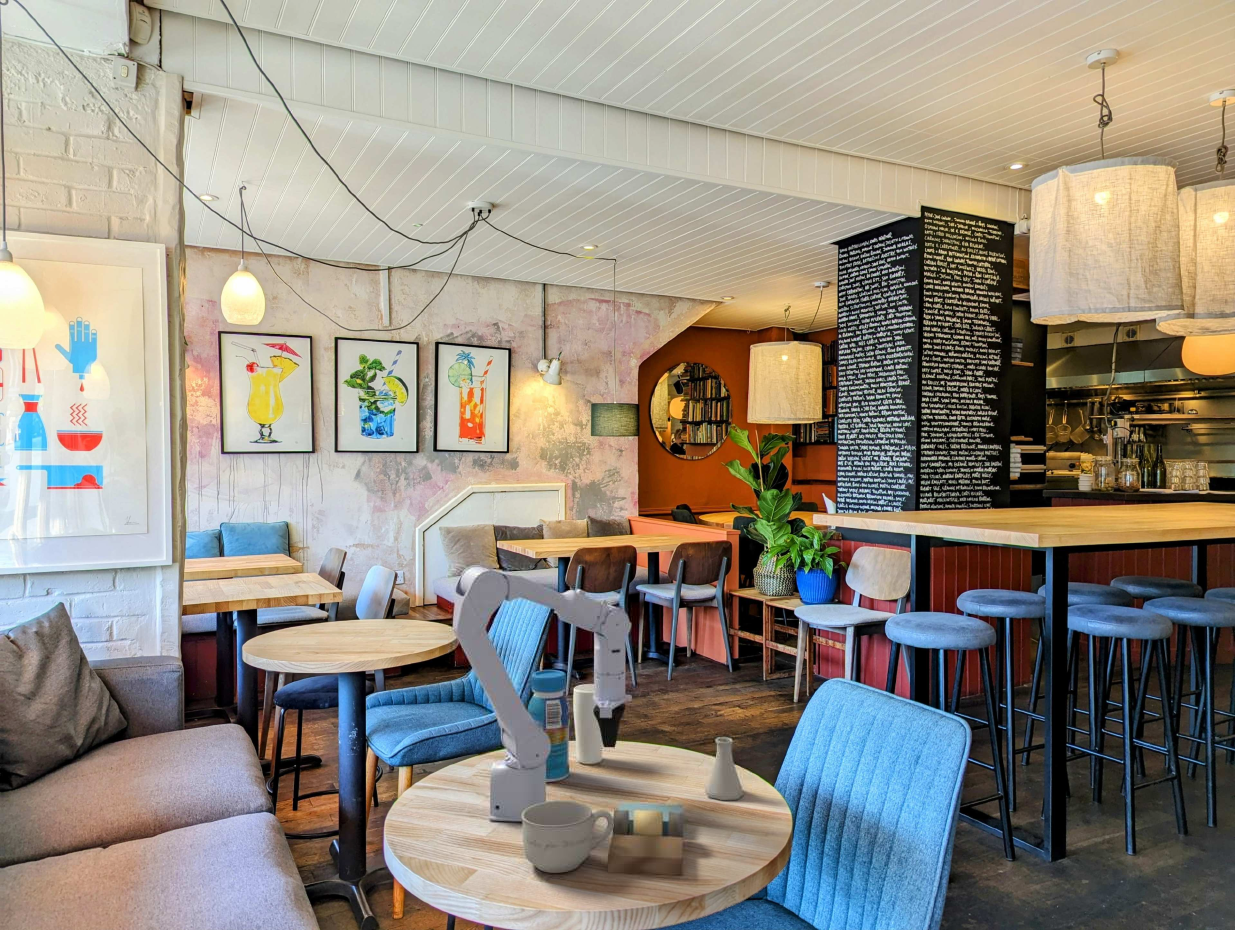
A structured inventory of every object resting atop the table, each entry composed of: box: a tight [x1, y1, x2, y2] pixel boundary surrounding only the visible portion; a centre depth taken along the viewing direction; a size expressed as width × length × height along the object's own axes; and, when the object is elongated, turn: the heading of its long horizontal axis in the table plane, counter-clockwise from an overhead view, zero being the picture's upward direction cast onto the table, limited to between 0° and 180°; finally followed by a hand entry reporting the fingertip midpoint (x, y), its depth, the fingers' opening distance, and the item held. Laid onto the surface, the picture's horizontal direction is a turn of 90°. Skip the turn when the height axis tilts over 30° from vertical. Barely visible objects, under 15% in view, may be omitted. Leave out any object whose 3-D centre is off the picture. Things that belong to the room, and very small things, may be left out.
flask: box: [704, 736, 745, 801], centre depth 151 cm, size 7×7×10 cm
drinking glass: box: [572, 683, 604, 765], centre depth 168 cm, size 7×7×15 cm
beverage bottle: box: [527, 669, 571, 783], centre depth 160 cm, size 8×8×20 cm
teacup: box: [522, 800, 614, 874], centre depth 123 cm, size 14×11×8 cm
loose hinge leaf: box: [617, 802, 684, 837], centre depth 134 cm, size 11×12×5 cm
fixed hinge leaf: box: [607, 809, 684, 876], centre depth 126 cm, size 11×12×5 cm
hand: (609, 746), depth 149 cm, fingers closed
